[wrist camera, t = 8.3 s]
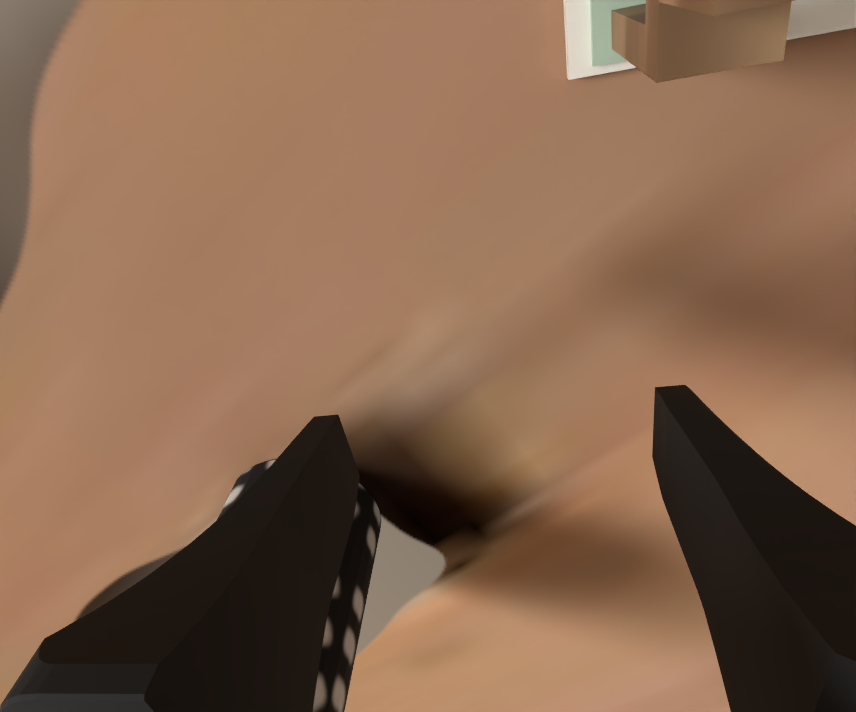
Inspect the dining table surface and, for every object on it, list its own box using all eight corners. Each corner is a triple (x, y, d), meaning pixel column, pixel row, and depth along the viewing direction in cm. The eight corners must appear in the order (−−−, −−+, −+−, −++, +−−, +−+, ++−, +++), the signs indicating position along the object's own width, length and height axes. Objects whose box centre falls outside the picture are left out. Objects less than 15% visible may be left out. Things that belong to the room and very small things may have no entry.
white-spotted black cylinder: (360, 452, 29) (181, 1116, 12) (395, 557, 33) (300, 1145, 17) (207, 463, 30) (-135, 1067, 14) (261, 562, 35) (52, 1106, 18)
